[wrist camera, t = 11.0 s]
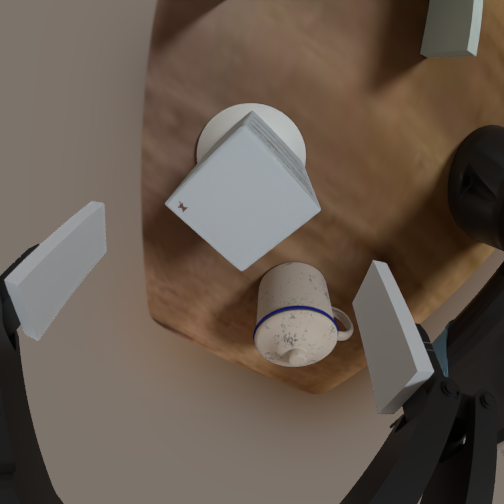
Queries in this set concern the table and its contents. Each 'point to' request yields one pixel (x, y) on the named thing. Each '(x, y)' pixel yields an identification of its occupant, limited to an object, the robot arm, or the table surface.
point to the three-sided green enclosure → (452, 28)
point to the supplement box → (246, 193)
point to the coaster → (266, 113)
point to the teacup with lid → (297, 316)
